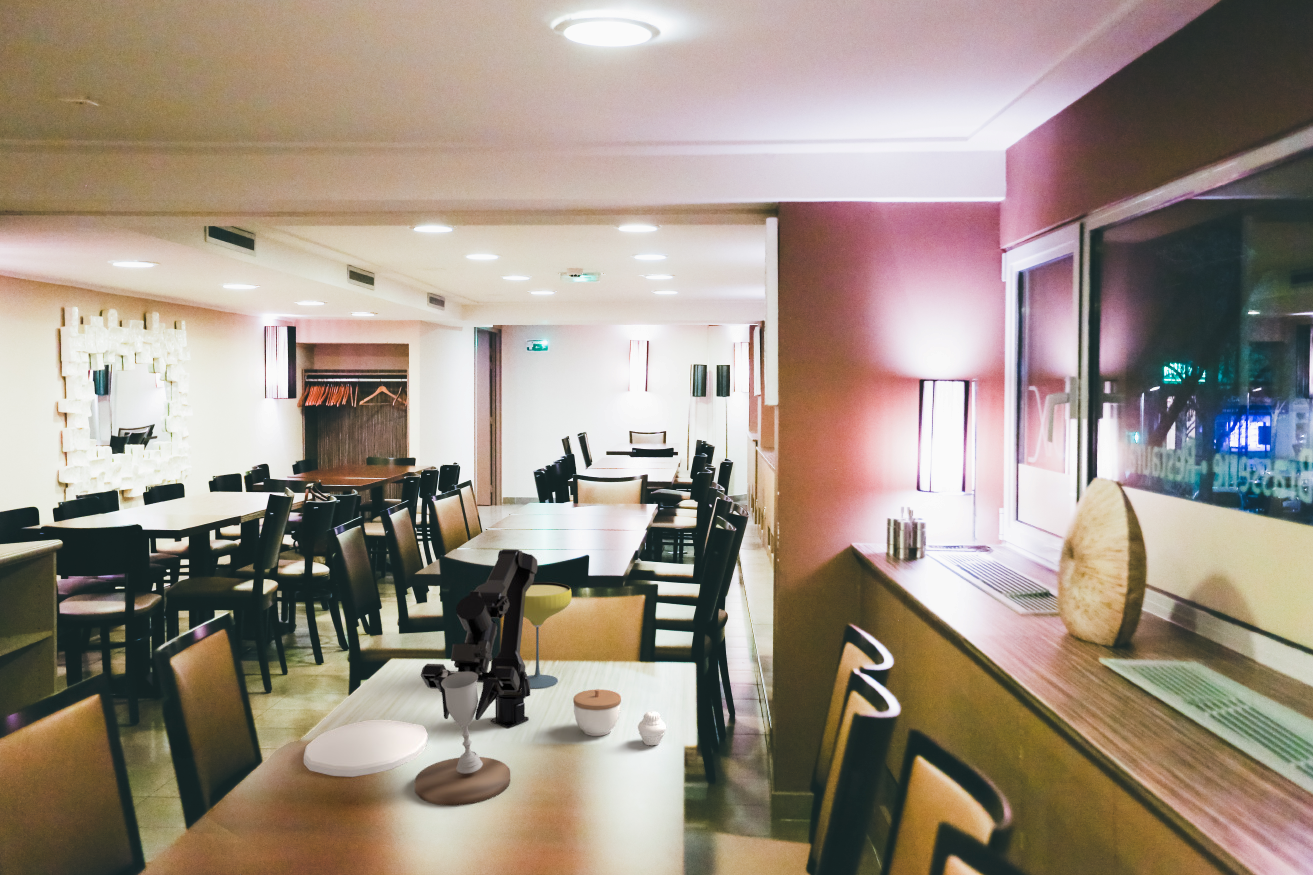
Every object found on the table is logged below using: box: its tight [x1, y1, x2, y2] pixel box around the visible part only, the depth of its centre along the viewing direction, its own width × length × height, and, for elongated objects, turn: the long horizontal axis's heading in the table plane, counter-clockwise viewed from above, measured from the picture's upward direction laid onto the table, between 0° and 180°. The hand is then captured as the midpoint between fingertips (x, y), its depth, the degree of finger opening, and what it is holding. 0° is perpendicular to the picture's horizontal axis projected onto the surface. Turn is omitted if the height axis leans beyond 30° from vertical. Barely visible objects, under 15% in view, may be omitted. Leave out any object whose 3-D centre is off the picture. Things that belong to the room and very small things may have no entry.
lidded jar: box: [572, 688, 622, 737], centre depth 189 cm, size 11×11×9 cm
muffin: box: [637, 710, 667, 746], centre depth 182 cm, size 6×6×7 cm
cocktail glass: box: [506, 581, 573, 690], centre depth 222 cm, size 18×18×25 cm
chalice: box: [441, 671, 483, 773], centre depth 162 cm, size 7×7×18 cm
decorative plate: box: [303, 718, 429, 778], centre depth 178 cm, size 25×4×25 cm
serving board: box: [414, 756, 511, 806], centre depth 162 cm, size 18×18×2 cm
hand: (461, 718), depth 160 cm, fingers closed on chalice, 6 cm apart
